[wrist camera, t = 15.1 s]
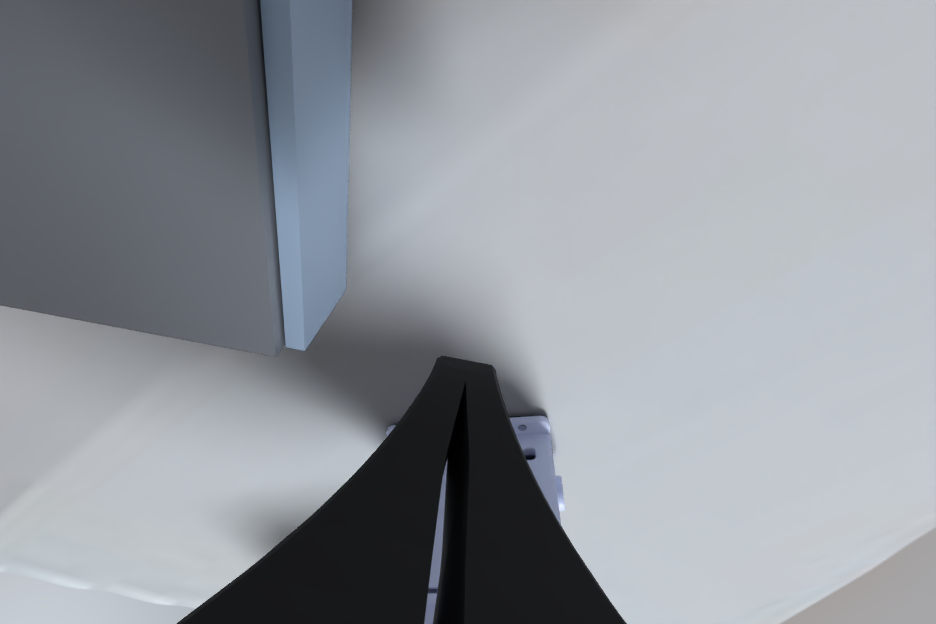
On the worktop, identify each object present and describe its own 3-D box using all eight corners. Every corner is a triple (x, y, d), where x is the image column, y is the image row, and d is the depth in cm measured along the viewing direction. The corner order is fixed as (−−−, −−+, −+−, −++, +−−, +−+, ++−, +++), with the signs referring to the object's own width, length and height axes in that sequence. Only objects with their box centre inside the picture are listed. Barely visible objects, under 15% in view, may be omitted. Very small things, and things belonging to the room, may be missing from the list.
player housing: (336, -32, 14) (235, -81, 8) (334, 278, 20) (275, 357, 15) (-6, -106, 13) (-327, -205, 8) (101, 233, 19) (-42, 297, 14)
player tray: (353, -31, 13) (287, -66, 9) (345, 290, 19) (304, 350, 15) (-5, -108, 13) (-233, -179, 9) (106, 243, 19) (2, 293, 15)
